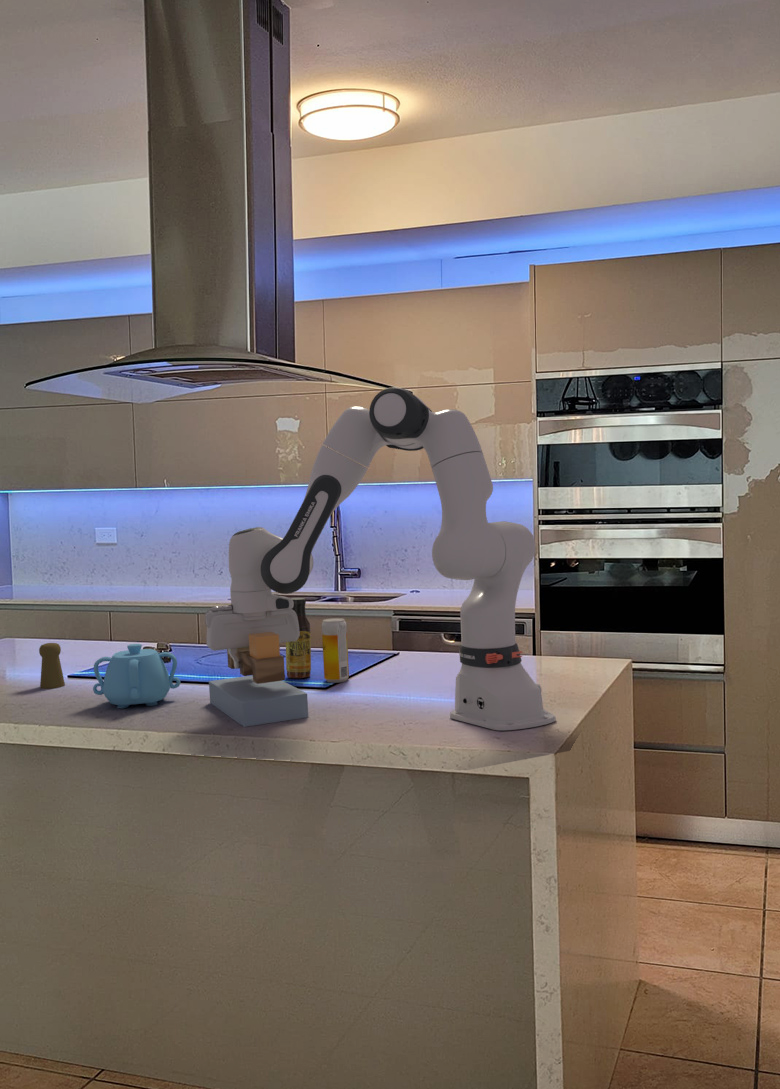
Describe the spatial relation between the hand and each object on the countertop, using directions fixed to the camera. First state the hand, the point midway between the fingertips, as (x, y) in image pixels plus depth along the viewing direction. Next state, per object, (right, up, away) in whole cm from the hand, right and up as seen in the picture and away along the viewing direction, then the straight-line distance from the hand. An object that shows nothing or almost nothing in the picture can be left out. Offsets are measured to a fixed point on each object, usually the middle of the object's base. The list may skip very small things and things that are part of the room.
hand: (255, 666), depth 221 cm
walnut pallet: (0, -2, 0) cm, 2 cm away
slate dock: (0, -10, +1) cm, 10 cm away
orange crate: (+3, +3, -7) cm, 8 cm away
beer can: (+16, -7, +28) cm, 33 cm away
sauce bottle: (+7, -7, +34) cm, 36 cm away
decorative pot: (-29, -10, +13) cm, 33 cm away
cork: (-56, -10, +37) cm, 68 cm away
